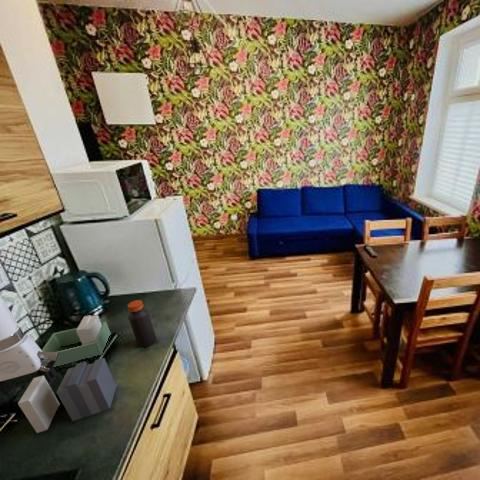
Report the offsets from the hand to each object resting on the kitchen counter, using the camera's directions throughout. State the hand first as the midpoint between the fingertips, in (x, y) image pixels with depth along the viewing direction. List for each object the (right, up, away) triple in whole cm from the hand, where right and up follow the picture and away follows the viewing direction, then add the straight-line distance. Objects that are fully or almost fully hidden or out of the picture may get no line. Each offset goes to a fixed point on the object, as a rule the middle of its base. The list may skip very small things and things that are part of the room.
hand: (31, 384), depth 78 cm
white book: (0, -13, +5) cm, 14 cm away
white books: (-7, -2, +32) cm, 32 cm away
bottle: (+12, -1, +35) cm, 37 cm away
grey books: (+11, -11, +10) cm, 18 cm away
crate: (-12, -3, +30) cm, 32 cm away
